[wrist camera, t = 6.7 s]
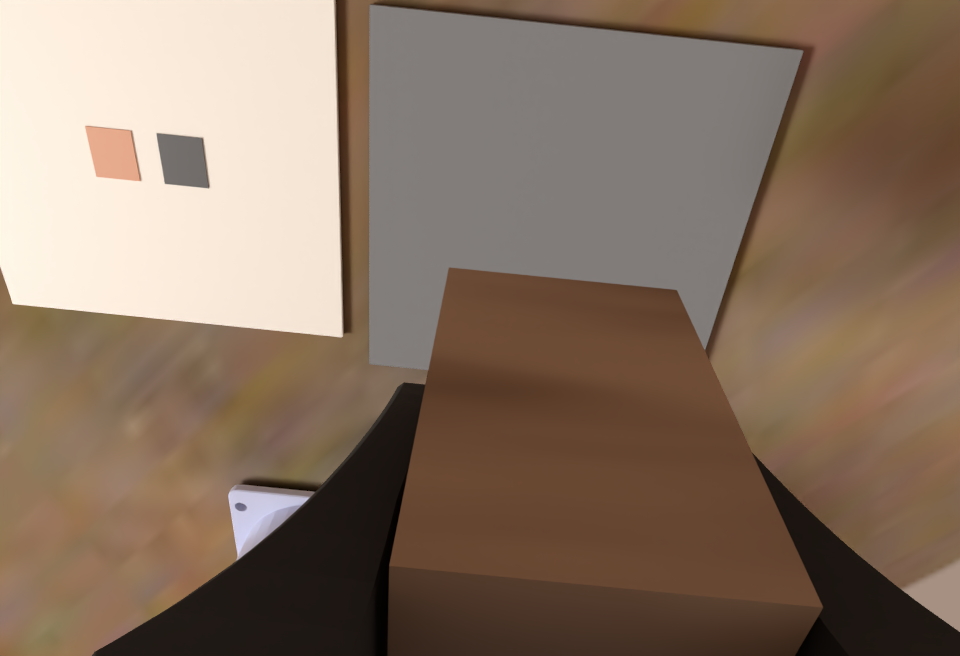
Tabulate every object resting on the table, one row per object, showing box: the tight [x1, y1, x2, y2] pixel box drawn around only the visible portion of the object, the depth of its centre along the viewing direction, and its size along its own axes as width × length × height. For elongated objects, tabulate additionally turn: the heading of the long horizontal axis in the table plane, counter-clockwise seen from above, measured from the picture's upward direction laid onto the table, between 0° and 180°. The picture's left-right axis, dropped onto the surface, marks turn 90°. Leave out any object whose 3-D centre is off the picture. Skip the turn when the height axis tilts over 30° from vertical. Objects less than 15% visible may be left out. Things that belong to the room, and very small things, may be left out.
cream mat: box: [0, 0, 344, 337], centre depth 20 cm, size 12×12×1 cm
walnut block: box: [387, 267, 823, 656], centre depth 11 cm, size 4×4×7 cm
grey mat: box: [369, 4, 803, 370], centre depth 21 cm, size 12×12×1 cm
